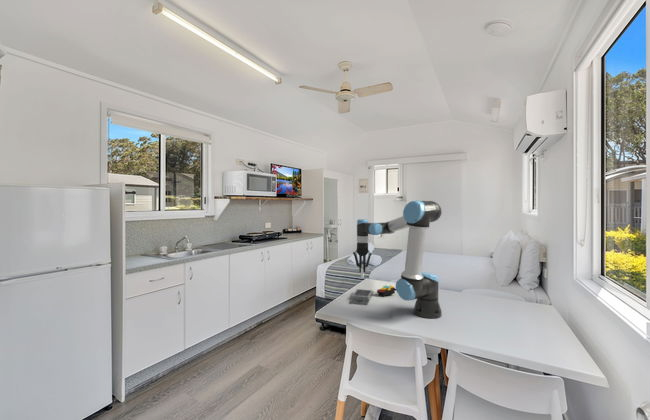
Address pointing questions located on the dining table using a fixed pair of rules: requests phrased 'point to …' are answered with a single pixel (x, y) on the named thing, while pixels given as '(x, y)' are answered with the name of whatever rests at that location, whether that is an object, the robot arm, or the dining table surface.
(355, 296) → the grey rectangular box
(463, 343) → the dining table surface
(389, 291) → the gadget
